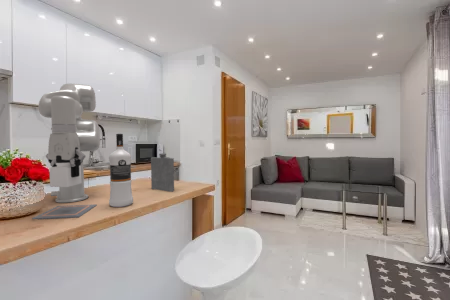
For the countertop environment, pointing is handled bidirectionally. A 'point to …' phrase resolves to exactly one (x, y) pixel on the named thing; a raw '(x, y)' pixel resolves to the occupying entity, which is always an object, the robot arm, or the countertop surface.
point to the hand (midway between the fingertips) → (66, 176)
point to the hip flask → (162, 173)
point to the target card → (65, 212)
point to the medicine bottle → (63, 174)
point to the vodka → (120, 176)
